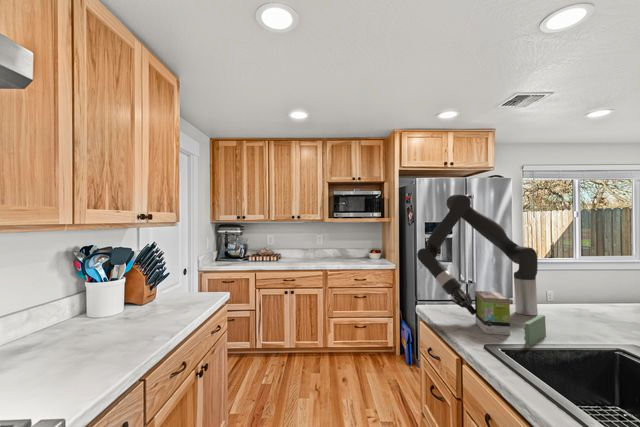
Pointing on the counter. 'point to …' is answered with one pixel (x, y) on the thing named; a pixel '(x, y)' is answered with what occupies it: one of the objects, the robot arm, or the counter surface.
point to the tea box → (492, 312)
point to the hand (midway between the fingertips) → (474, 313)
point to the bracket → (534, 330)
